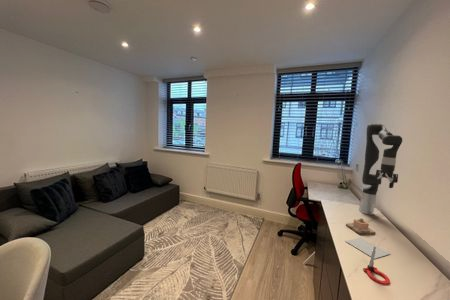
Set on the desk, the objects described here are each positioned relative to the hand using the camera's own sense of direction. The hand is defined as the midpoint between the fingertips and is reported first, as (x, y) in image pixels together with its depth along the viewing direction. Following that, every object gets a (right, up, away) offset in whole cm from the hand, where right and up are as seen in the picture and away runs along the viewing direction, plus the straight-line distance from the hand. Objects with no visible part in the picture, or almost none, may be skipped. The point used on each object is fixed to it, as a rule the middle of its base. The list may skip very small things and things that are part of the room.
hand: (384, 186), depth 138 cm
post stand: (-20, -30, -3) cm, 36 cm away
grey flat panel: (-25, -33, -26) cm, 48 cm away
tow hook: (-42, -34, -47) cm, 72 cm away
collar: (-20, -28, -4) cm, 34 cm away
